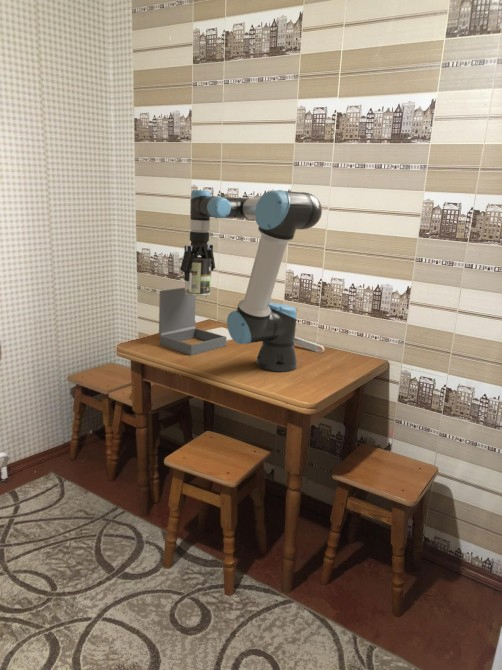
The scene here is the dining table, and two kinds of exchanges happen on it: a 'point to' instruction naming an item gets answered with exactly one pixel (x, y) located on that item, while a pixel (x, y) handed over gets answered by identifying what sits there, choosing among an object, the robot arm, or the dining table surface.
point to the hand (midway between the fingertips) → (197, 287)
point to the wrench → (308, 344)
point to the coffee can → (200, 277)
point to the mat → (221, 332)
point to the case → (183, 324)
